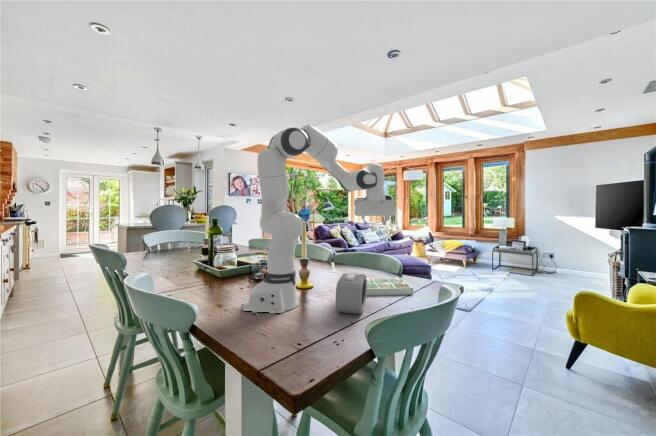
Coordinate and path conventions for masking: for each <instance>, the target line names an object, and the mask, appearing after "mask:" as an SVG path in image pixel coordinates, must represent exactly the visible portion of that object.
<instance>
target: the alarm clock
mask: <svg viewBox="0 0 656 436" xmlns="http://www.w3.org/2000/svg"><path fill="white" fill-rule="evenodd" d="M367 278H368V277H367V275H366V274H364V273H363V274H362V273H356V272H348V273H346V272H345V273H343V274H341V276H340V277H339V279H338V280H337V282H336V289H335V308H336V309H335V310H336V311H338V312H340V313H344V314H357V315H361V314H362V312H363V311H364V307H365V306H366V305H365V304H366V300H367V295H366V294H367Z"/></svg>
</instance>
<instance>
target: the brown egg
mask: <svg viewBox="0 0 656 436" xmlns="http://www.w3.org/2000/svg"><path fill="white" fill-rule="evenodd" d="M397 288H407V285H406V284H405V283H404V282H400V283H399V284H398V286H397Z"/></svg>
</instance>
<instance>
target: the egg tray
mask: <svg viewBox="0 0 656 436" xmlns="http://www.w3.org/2000/svg"><path fill="white" fill-rule="evenodd" d="M369 279H370V281H371V283H370V284H367V294H366V296H396V295H397V296H399V295H400V296H401V295H414V288H413V286H411V285H410V284H409V283H408V282H407V281H406V280H405V279H403V278H399V279H400V280H401V282H404V283H405V284H406V285H407V288H397V286H398V284H399V283H392V280H393V279H394V278H369ZM385 282H386V283H389V284H390V287H391V288H381V285H382V283H385Z"/></svg>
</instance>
